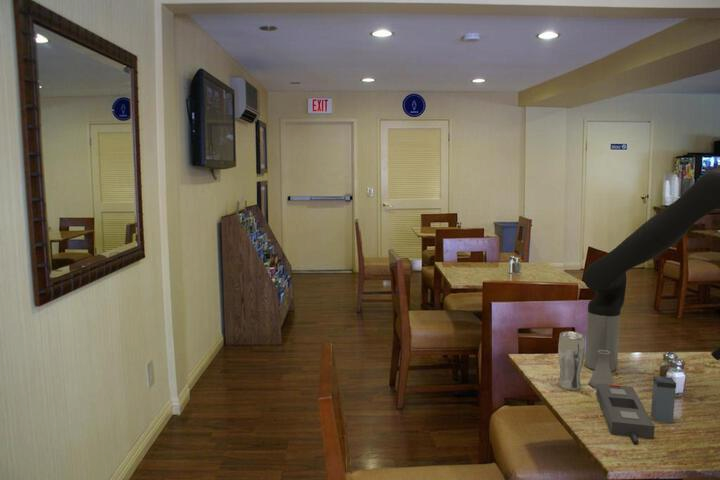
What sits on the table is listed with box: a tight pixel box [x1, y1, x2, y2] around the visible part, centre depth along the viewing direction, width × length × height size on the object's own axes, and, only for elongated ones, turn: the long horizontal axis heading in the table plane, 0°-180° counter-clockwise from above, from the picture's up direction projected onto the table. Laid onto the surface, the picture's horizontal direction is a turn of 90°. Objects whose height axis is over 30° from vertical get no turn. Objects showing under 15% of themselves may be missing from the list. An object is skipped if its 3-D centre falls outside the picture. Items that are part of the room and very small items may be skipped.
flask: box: [588, 350, 616, 389], centre depth 161 cm, size 7×7×10 cm
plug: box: [650, 375, 677, 424], centre depth 141 cm, size 4×4×10 cm
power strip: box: [595, 383, 655, 445], centre depth 141 cm, size 28×9×4 cm, turn 166°
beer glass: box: [557, 331, 586, 391], centre depth 160 cm, size 7×7×15 cm
